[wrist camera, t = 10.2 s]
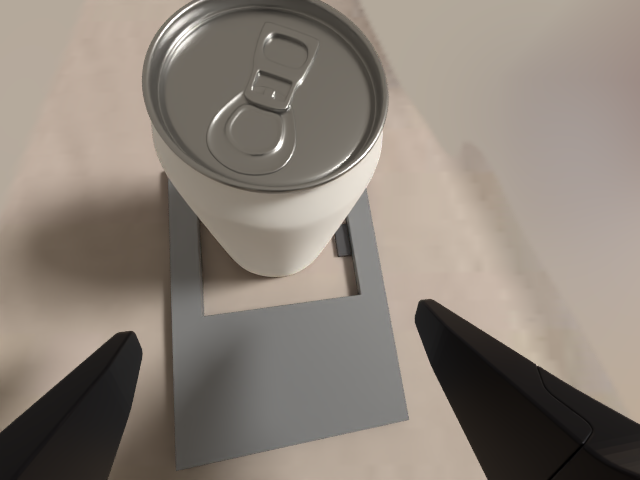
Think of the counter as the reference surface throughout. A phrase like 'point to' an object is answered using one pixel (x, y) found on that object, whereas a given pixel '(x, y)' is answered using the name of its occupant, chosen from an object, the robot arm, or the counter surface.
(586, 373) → the counter surface
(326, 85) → the can
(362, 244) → the board
